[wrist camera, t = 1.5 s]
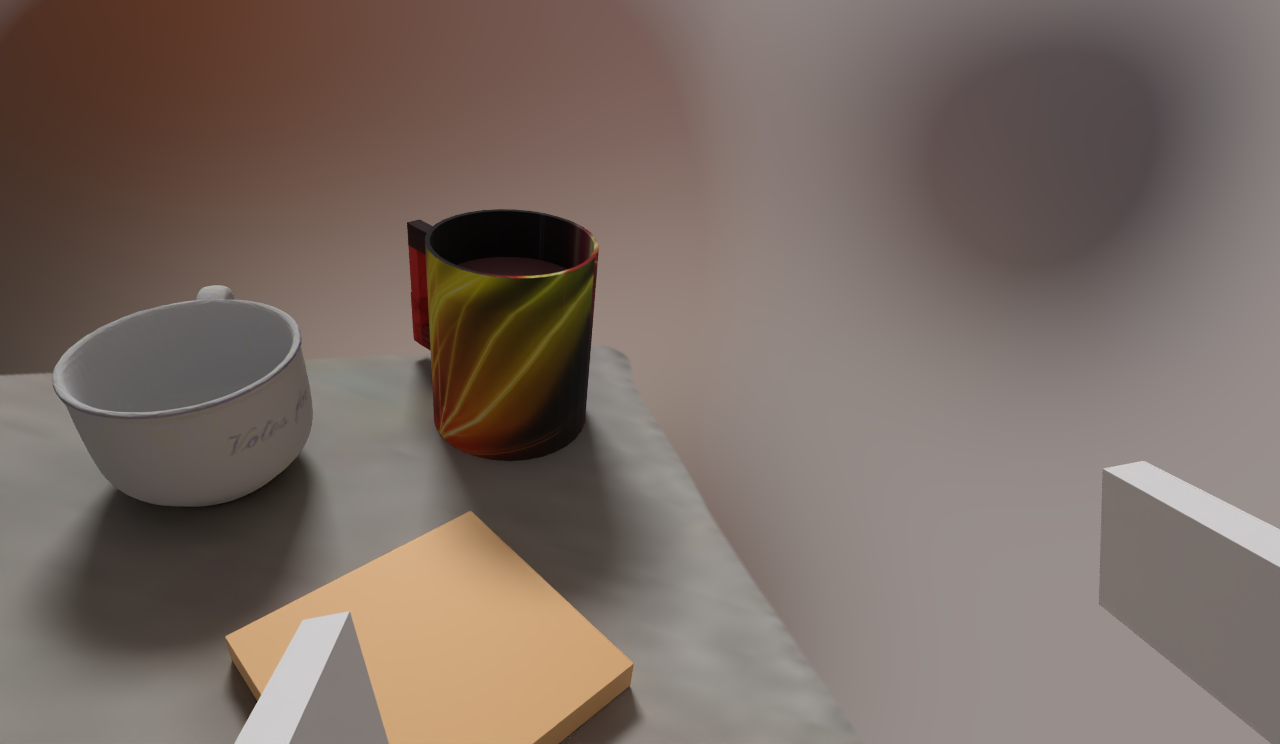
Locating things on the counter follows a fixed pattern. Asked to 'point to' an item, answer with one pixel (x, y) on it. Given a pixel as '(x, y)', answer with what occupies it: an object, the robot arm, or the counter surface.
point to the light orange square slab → (456, 643)
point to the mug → (505, 328)
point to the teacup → (190, 398)
